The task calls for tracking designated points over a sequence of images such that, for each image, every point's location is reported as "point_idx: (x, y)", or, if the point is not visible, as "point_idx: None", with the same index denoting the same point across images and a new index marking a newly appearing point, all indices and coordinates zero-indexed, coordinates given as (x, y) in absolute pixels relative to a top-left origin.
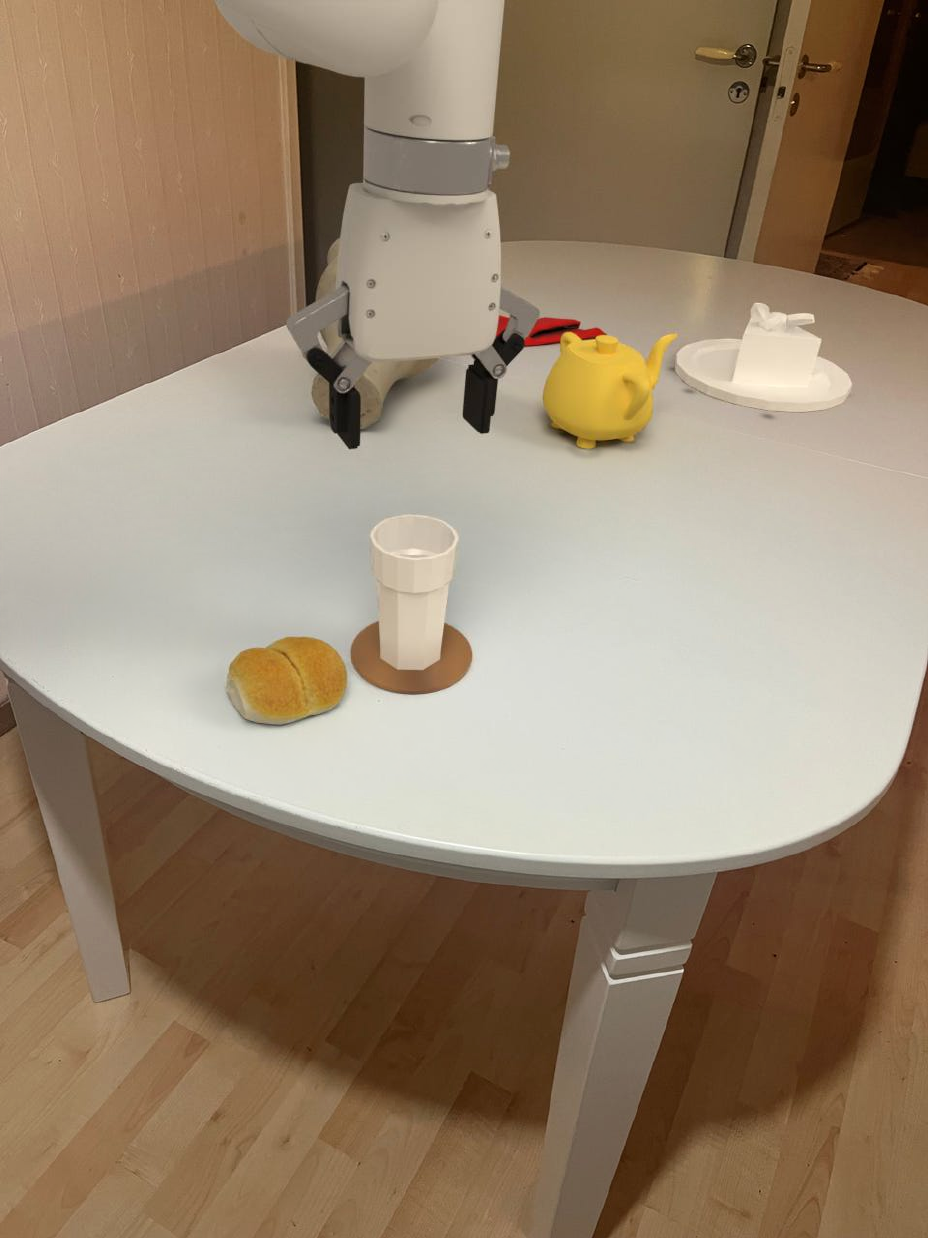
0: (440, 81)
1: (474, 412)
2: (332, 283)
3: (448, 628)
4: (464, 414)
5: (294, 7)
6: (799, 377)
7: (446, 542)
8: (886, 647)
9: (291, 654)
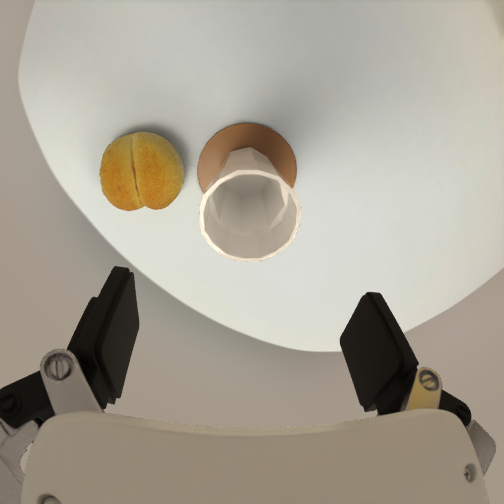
0: None
1: (354, 344)
2: None
3: (291, 162)
4: (363, 304)
5: None
6: None
7: (291, 210)
8: (455, 295)
9: (137, 178)
